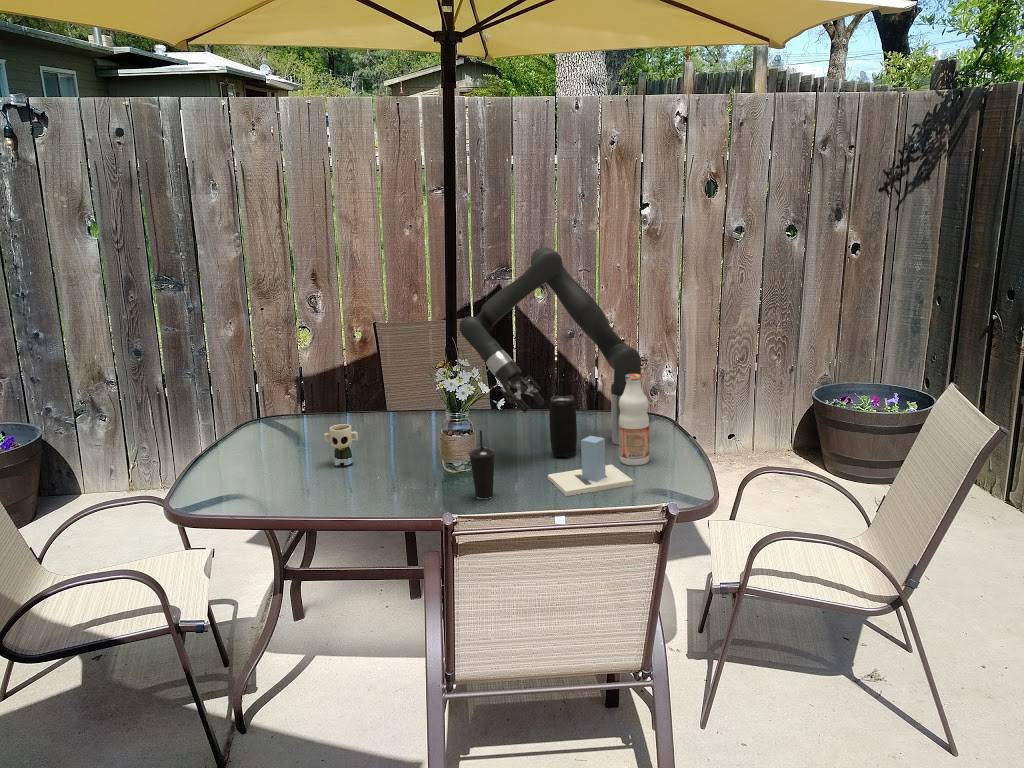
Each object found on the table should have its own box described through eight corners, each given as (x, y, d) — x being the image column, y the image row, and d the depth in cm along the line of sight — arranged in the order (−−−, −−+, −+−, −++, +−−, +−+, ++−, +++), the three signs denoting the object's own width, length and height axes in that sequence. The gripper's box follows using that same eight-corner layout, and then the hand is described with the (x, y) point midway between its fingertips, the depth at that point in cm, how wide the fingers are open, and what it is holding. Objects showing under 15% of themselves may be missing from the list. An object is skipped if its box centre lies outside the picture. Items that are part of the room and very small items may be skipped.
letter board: (611, 468, 252) (611, 464, 252) (632, 485, 238) (632, 480, 238) (547, 479, 246) (547, 474, 246) (566, 496, 232) (565, 491, 232)
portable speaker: (578, 450, 270) (576, 393, 266) (575, 460, 262) (574, 401, 257) (552, 450, 272) (550, 393, 267) (549, 459, 263) (547, 401, 258)
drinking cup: (474, 503, 230) (470, 436, 225) (468, 494, 237) (464, 428, 233) (500, 499, 232) (497, 432, 227) (494, 490, 239) (490, 425, 234)
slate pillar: (591, 473, 244) (590, 435, 242) (605, 476, 241) (604, 438, 239) (582, 478, 241) (581, 440, 238) (596, 482, 238) (595, 442, 235)
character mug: (325, 469, 265) (321, 431, 261) (329, 462, 272) (325, 424, 268) (358, 467, 265) (354, 429, 261) (362, 460, 271) (358, 423, 268)
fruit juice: (613, 460, 259) (611, 375, 252) (635, 454, 264) (634, 370, 257) (633, 468, 252) (631, 380, 245) (655, 461, 257) (655, 375, 250)
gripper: (495, 365, 248) (528, 405, 244) (523, 355, 259) (554, 394, 255) (483, 380, 252) (515, 420, 248) (510, 370, 263) (541, 408, 259)
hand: (535, 407), depth 251 cm, fingers open, 8 cm apart
